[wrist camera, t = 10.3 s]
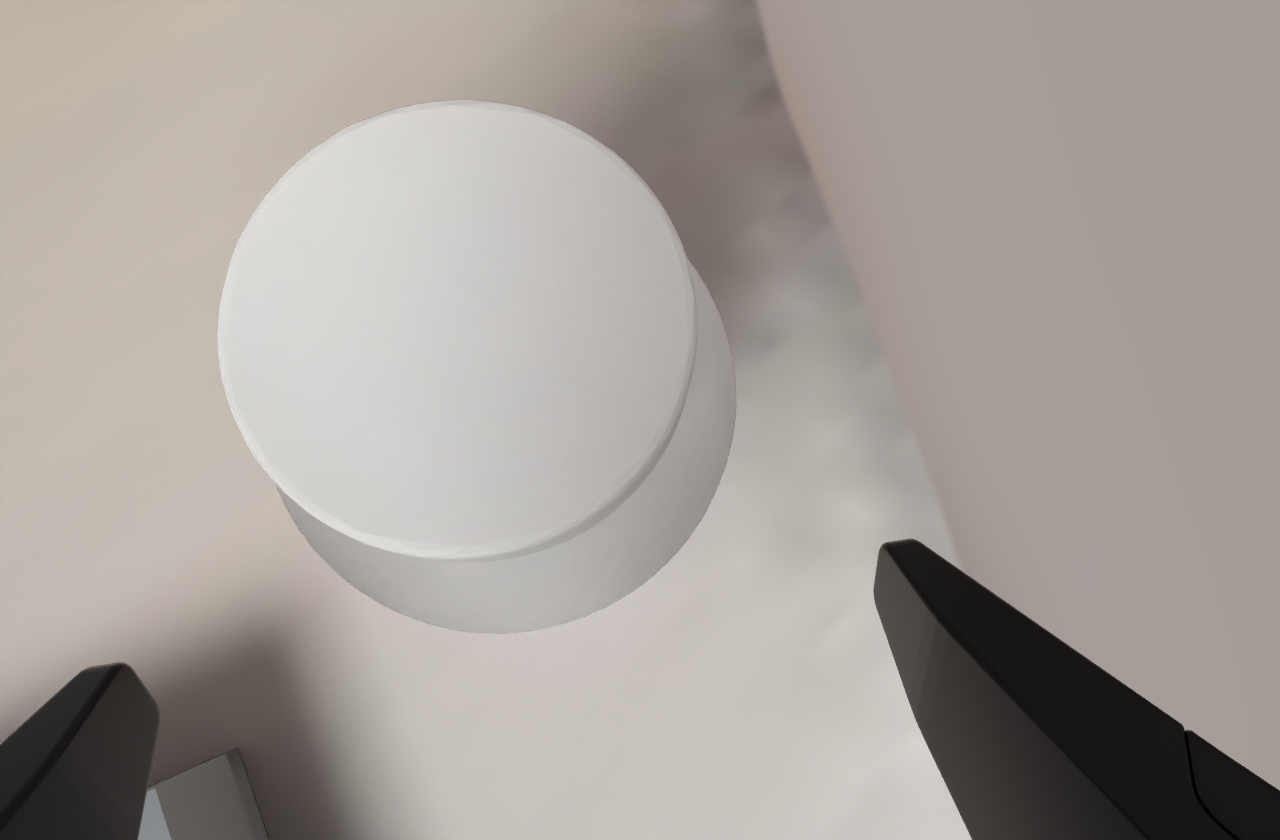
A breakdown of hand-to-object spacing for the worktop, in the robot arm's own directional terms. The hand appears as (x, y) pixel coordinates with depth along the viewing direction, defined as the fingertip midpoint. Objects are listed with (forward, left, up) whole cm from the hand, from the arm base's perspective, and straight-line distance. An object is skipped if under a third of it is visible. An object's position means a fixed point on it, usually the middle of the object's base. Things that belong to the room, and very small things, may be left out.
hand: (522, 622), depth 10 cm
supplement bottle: (+3, -1, -10) cm, 11 cm away
